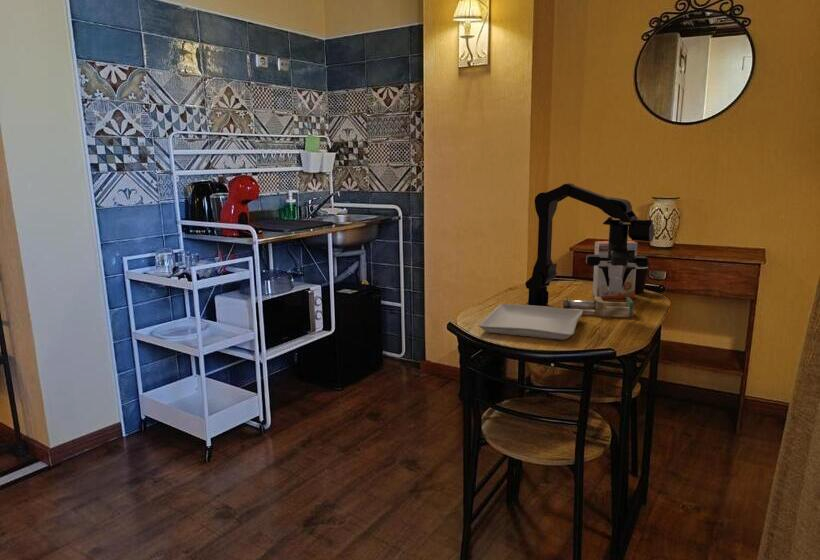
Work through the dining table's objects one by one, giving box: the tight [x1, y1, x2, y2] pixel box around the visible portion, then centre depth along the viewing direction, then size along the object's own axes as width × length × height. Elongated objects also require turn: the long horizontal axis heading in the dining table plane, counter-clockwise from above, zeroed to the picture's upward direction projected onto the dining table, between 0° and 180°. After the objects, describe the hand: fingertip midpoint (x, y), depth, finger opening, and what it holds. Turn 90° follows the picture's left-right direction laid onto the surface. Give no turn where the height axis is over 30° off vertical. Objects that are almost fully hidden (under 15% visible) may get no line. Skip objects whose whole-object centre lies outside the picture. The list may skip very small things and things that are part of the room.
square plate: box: [478, 303, 583, 341], centre depth 177 cm, size 27×27×4 cm
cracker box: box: [592, 240, 639, 299], centre depth 212 cm, size 14×6×21 cm, turn 89°
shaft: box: [562, 298, 596, 310], centre depth 192 cm, size 12×4×4 cm, turn 79°
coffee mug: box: [635, 265, 649, 295], centre depth 222 cm, size 12×9×10 cm
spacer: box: [607, 276, 623, 291], centre depth 186 cm, size 4×4×4 cm
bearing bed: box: [573, 296, 634, 318], centre depth 191 cm, size 20×7×5 cm, turn 79°
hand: (614, 286), depth 187 cm, fingers closed on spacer, 4 cm apart
